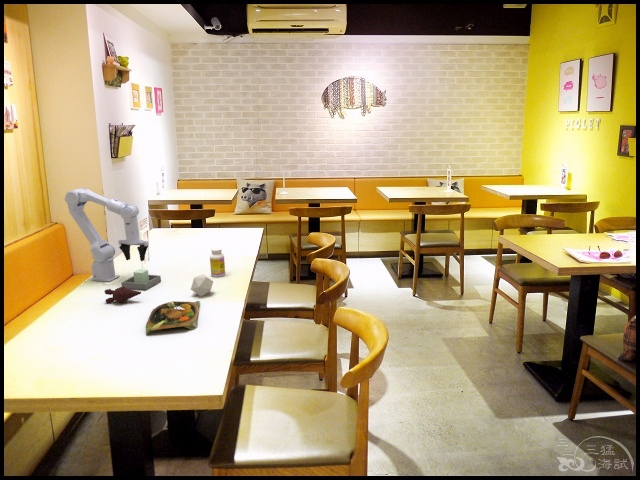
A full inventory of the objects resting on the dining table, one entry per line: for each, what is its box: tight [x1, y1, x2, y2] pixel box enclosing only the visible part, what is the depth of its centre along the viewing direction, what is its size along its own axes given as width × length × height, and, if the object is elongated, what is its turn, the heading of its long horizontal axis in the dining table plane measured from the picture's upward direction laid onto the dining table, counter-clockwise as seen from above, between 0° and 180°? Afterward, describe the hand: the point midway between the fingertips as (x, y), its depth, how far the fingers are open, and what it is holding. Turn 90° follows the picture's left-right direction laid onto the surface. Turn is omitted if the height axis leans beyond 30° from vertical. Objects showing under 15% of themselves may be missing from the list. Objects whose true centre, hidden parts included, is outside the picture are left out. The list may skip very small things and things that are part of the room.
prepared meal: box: [145, 300, 201, 336], centre depth 185 cm, size 28×4×18 cm
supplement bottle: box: [209, 247, 226, 278], centre depth 232 cm, size 7×7×13 cm
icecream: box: [103, 286, 142, 304], centre depth 201 cm, size 7×7×15 cm
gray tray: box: [120, 274, 162, 292], centre depth 222 cm, size 12×12×3 cm
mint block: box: [132, 269, 150, 284], centre depth 222 cm, size 4×4×6 cm
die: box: [190, 273, 214, 297], centre depth 208 cm, size 8×9×10 cm
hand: (135, 260), depth 228 cm, fingers open, 7 cm apart
